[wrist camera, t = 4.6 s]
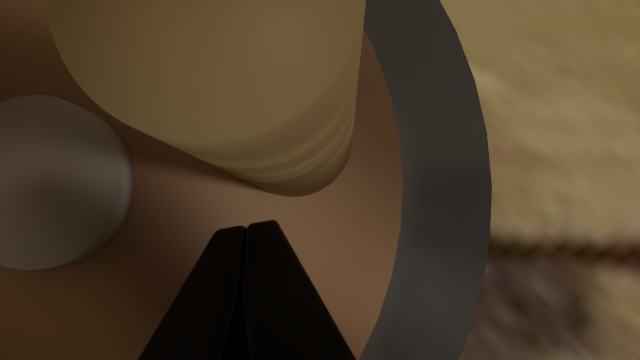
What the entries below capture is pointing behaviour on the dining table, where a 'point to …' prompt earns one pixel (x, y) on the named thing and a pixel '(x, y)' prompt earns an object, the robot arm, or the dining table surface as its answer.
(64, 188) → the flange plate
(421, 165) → the bowl
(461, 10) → the dining table surface
